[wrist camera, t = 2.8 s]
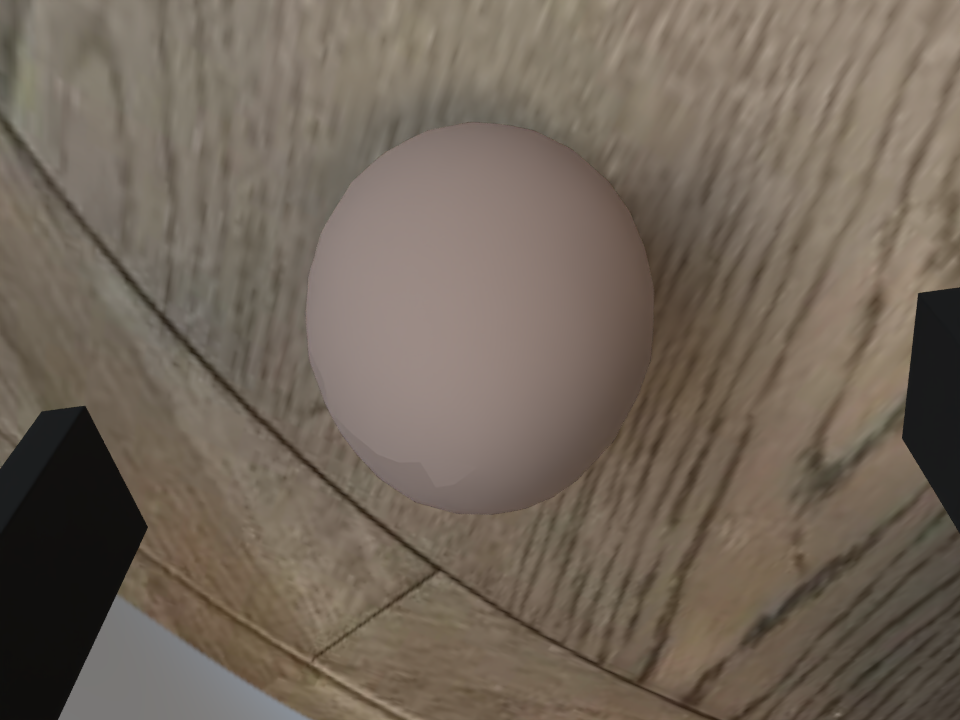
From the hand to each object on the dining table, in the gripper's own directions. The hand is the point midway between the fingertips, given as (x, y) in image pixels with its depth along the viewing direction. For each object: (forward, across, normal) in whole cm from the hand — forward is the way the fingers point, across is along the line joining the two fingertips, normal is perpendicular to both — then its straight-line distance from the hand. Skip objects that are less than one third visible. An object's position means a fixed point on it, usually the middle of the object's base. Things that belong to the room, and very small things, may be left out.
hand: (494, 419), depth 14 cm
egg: (+8, 0, 0) cm, 8 cm away
